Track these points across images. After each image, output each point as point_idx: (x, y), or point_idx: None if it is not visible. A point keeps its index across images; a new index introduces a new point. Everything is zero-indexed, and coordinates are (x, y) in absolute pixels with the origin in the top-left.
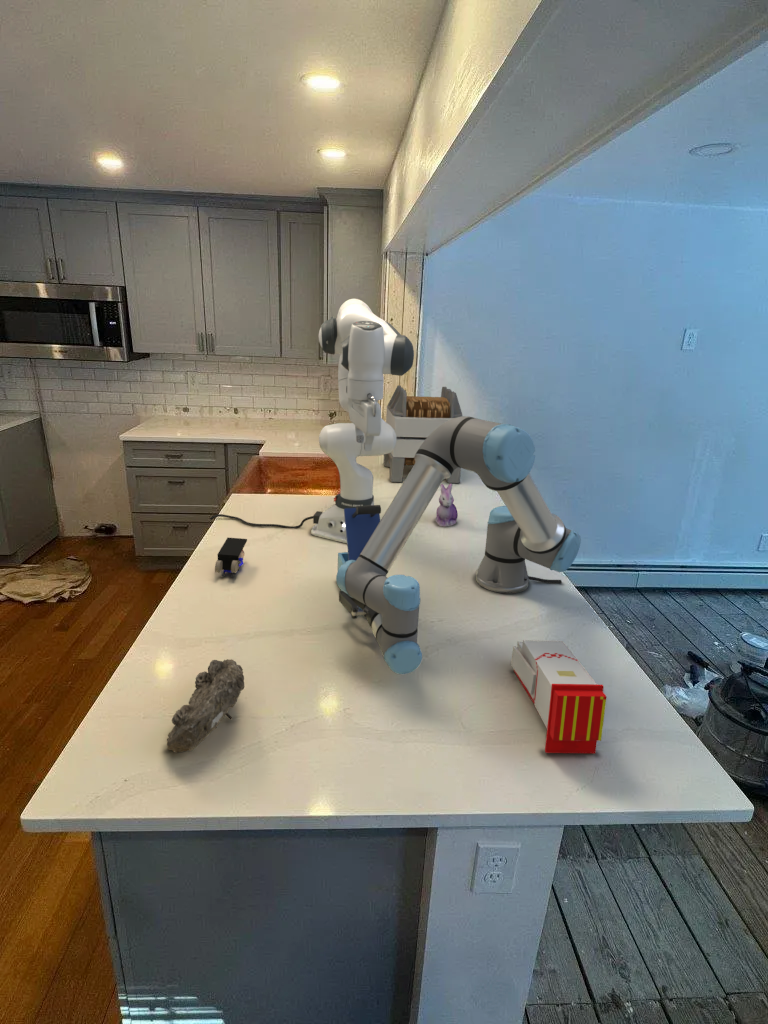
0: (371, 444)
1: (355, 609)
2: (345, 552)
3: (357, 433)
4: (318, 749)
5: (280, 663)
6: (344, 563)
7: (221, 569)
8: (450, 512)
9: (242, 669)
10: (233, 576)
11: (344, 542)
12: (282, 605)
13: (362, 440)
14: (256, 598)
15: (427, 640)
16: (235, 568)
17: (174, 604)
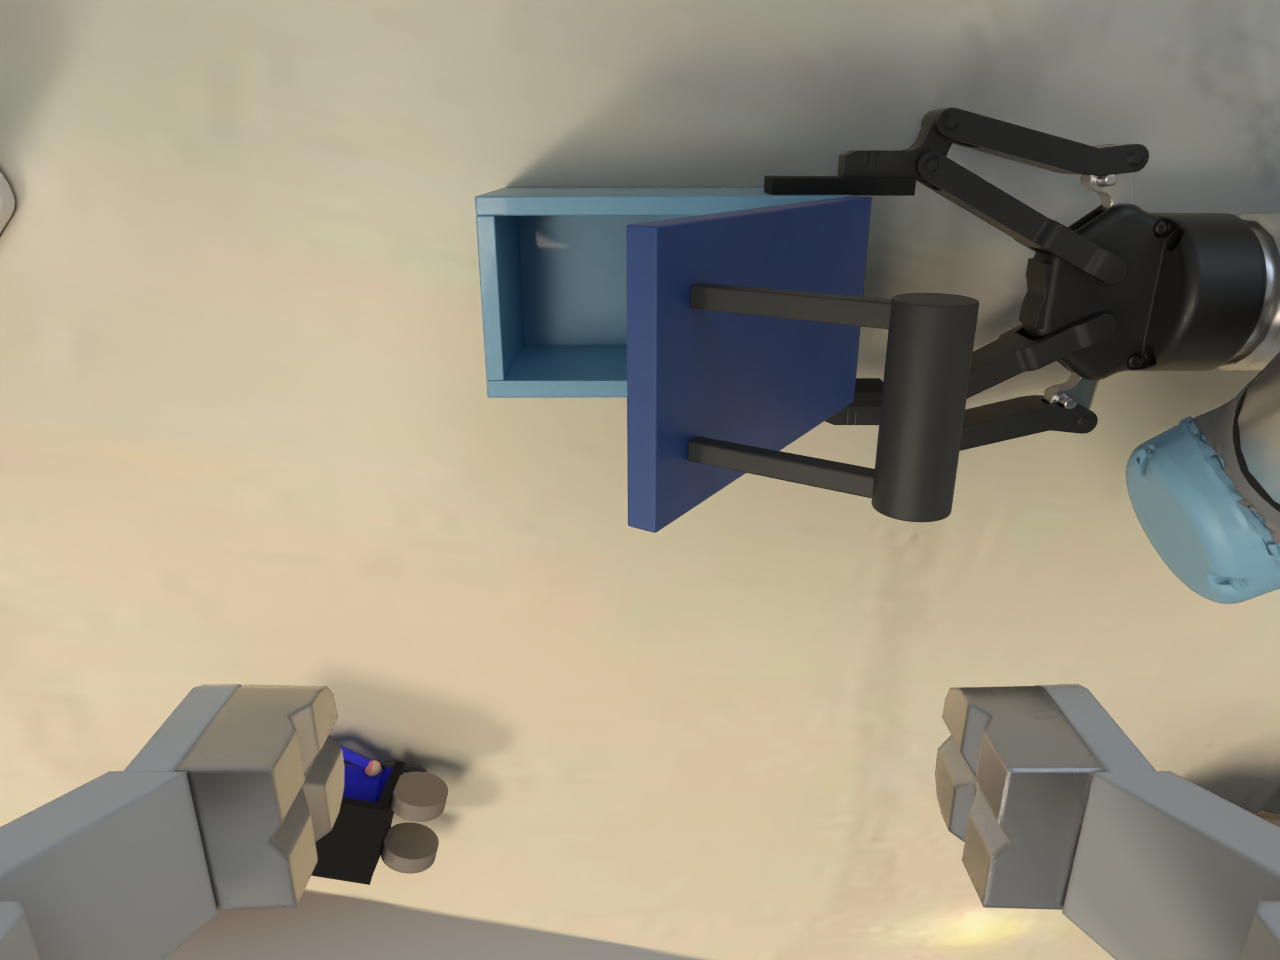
0: (1147, 772)
1: (1095, 420)
2: (489, 353)
3: (167, 931)
4: None
5: (1080, 648)
6: (1244, 586)
7: (408, 826)
8: None
9: (1256, 814)
10: (423, 768)
11: (6, 221)
12: (691, 609)
13: (315, 731)
14: (614, 693)
15: (1155, 59)
16: (442, 794)
17: (609, 926)
